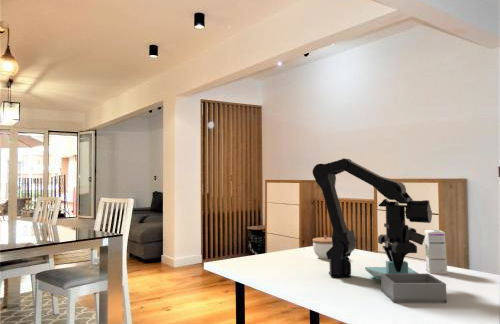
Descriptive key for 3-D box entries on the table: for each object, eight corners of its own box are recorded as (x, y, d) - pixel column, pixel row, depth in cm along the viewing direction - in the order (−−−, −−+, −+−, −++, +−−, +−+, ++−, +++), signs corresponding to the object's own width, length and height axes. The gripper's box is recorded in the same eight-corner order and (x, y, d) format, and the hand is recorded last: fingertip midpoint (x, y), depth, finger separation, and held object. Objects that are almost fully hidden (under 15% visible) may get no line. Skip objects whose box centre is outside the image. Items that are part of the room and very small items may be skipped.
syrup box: (447, 274, 132) (446, 232, 132) (429, 273, 133) (428, 231, 133) (442, 270, 137) (441, 229, 138) (425, 269, 138) (424, 229, 139)
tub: (393, 302, 103) (393, 283, 103) (381, 290, 114) (380, 273, 114) (446, 302, 102) (446, 283, 102) (429, 290, 113) (428, 273, 113)
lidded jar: (311, 255, 167) (311, 233, 167) (336, 255, 167) (335, 233, 167) (314, 260, 156) (314, 237, 157) (341, 260, 156) (340, 237, 156)
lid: (374, 280, 119) (374, 262, 119) (365, 271, 131) (364, 255, 131) (422, 280, 119) (421, 262, 119) (408, 271, 130) (407, 255, 130)
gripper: (434, 224, 111) (436, 278, 111) (410, 217, 130) (411, 264, 129) (395, 224, 112) (397, 278, 111) (377, 218, 130) (378, 264, 130)
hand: (396, 270), depth 120 cm, fingers closed on lid, 2 cm apart
